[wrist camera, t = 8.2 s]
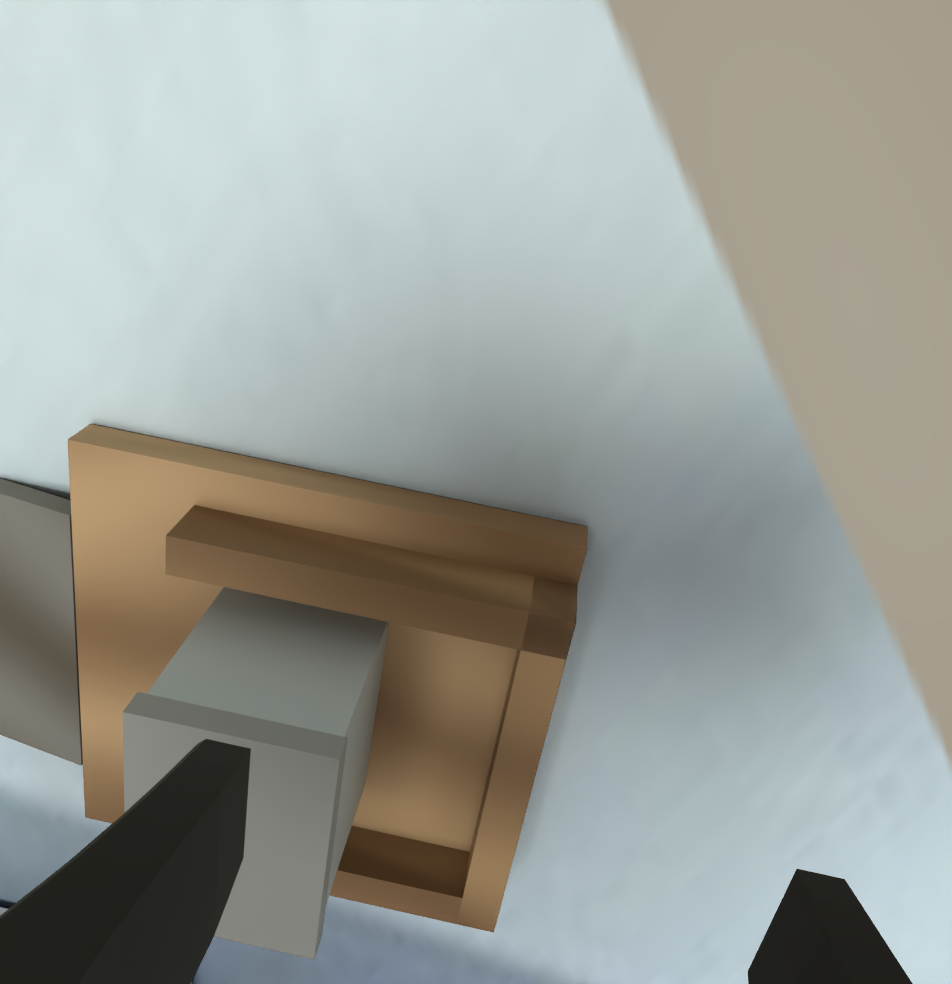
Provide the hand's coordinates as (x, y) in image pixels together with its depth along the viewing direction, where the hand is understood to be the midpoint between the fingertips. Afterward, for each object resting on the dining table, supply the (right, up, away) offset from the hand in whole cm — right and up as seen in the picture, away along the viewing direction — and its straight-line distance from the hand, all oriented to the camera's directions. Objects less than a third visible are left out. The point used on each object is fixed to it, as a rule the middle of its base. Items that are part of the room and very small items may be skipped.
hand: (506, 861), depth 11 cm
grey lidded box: (-5, 0, +11) cm, 12 cm away
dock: (-8, +1, +12) cm, 15 cm away
